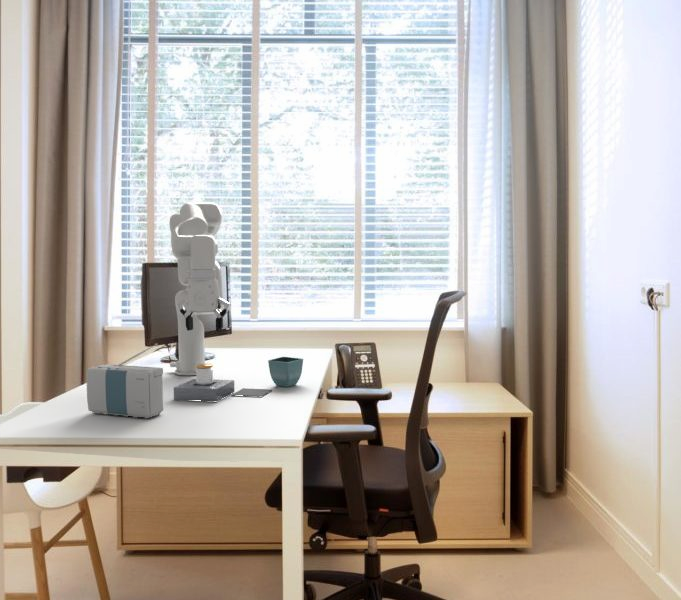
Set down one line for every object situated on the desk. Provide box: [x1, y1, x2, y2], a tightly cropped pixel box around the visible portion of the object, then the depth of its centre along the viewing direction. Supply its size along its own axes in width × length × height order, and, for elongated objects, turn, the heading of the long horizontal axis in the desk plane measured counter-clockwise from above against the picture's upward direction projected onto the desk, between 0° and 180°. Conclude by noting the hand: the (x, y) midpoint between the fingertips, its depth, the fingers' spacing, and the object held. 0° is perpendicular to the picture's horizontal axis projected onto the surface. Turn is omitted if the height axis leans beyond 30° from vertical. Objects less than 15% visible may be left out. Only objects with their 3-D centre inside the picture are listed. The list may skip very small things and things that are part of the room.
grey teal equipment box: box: [86, 343, 164, 419], centre depth 173 cm, size 21×8×20 cm, turn 69°
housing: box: [173, 378, 235, 402], centre depth 195 cm, size 14×14×4 cm
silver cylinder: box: [195, 363, 214, 386], centre depth 195 cm, size 5×5×10 cm
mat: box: [231, 387, 273, 397], centre depth 199 cm, size 10×10×1 cm
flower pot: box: [267, 356, 304, 388], centre depth 211 cm, size 9×9×9 cm
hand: (204, 330), depth 194 cm, fingers open, 9 cm apart
